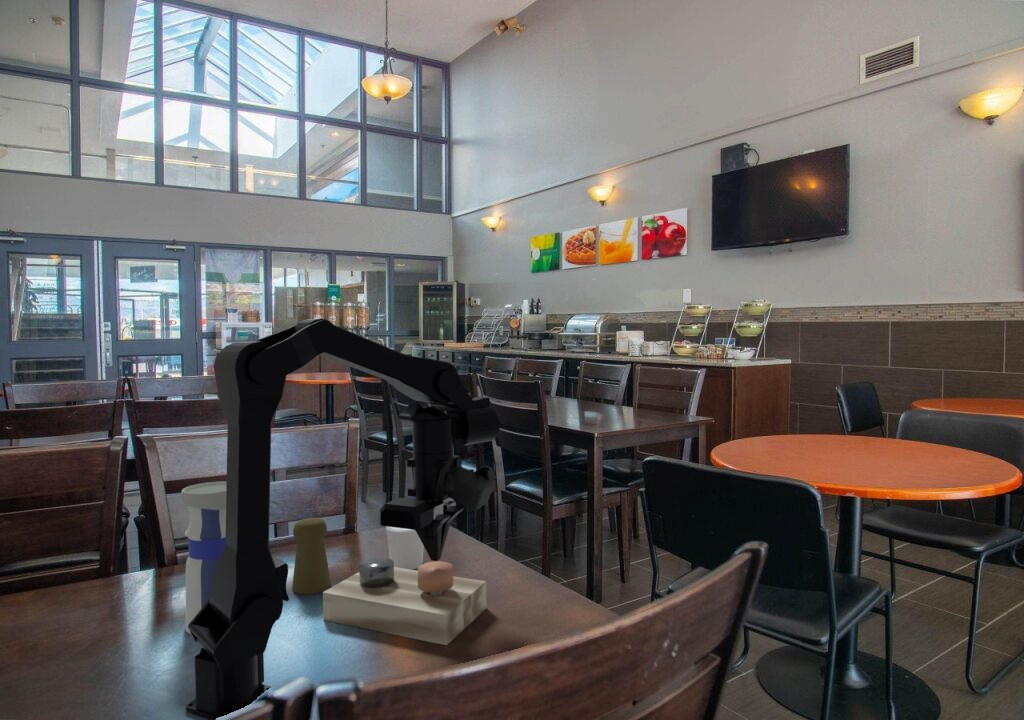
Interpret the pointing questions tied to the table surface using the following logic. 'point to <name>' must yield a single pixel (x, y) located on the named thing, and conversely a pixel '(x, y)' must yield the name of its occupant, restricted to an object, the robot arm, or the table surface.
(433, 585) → the pink mushroom knob
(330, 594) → the plunger block
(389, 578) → the metal plunger
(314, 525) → the cork
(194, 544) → the water bottle
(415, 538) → the shot glass
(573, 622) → the table surface
